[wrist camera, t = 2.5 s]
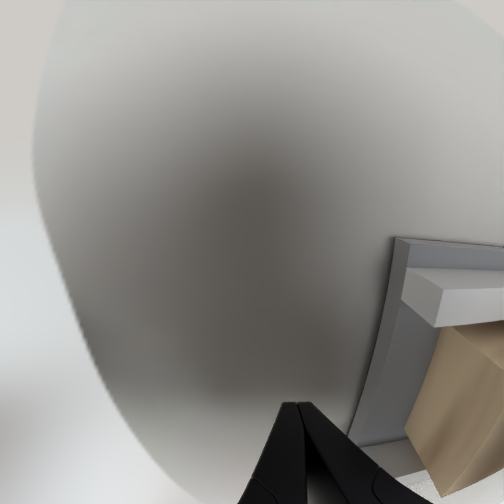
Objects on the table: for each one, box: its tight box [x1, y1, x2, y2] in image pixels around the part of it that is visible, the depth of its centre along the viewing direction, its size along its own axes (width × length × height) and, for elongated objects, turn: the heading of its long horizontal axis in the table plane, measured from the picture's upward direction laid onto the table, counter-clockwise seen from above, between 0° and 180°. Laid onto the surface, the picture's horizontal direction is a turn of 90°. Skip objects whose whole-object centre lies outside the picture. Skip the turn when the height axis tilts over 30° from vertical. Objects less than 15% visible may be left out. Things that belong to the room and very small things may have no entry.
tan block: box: [404, 320, 504, 498], centre depth 7 cm, size 5×5×4 cm
